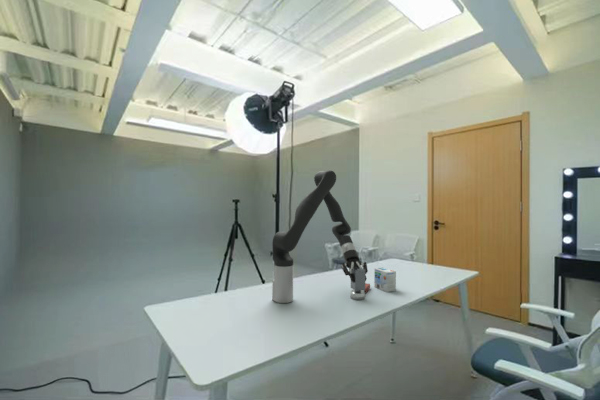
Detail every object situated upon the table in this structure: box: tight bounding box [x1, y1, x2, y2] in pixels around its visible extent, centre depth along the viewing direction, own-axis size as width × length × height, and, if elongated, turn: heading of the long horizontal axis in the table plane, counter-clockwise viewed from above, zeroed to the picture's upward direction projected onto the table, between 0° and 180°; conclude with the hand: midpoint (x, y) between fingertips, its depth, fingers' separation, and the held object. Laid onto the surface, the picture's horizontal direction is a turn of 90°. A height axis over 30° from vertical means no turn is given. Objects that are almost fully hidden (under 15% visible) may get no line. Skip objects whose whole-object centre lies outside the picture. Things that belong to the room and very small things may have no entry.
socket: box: [350, 267, 366, 291], centre depth 143 cm, size 5×5×10 cm
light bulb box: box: [373, 267, 397, 293], centre depth 159 cm, size 11×7×11 cm, turn 25°
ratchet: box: [350, 282, 371, 301], centre depth 150 cm, size 23×7×7 cm, turn 153°
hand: (359, 281), depth 142 cm, fingers closed on socket, 5 cm apart
